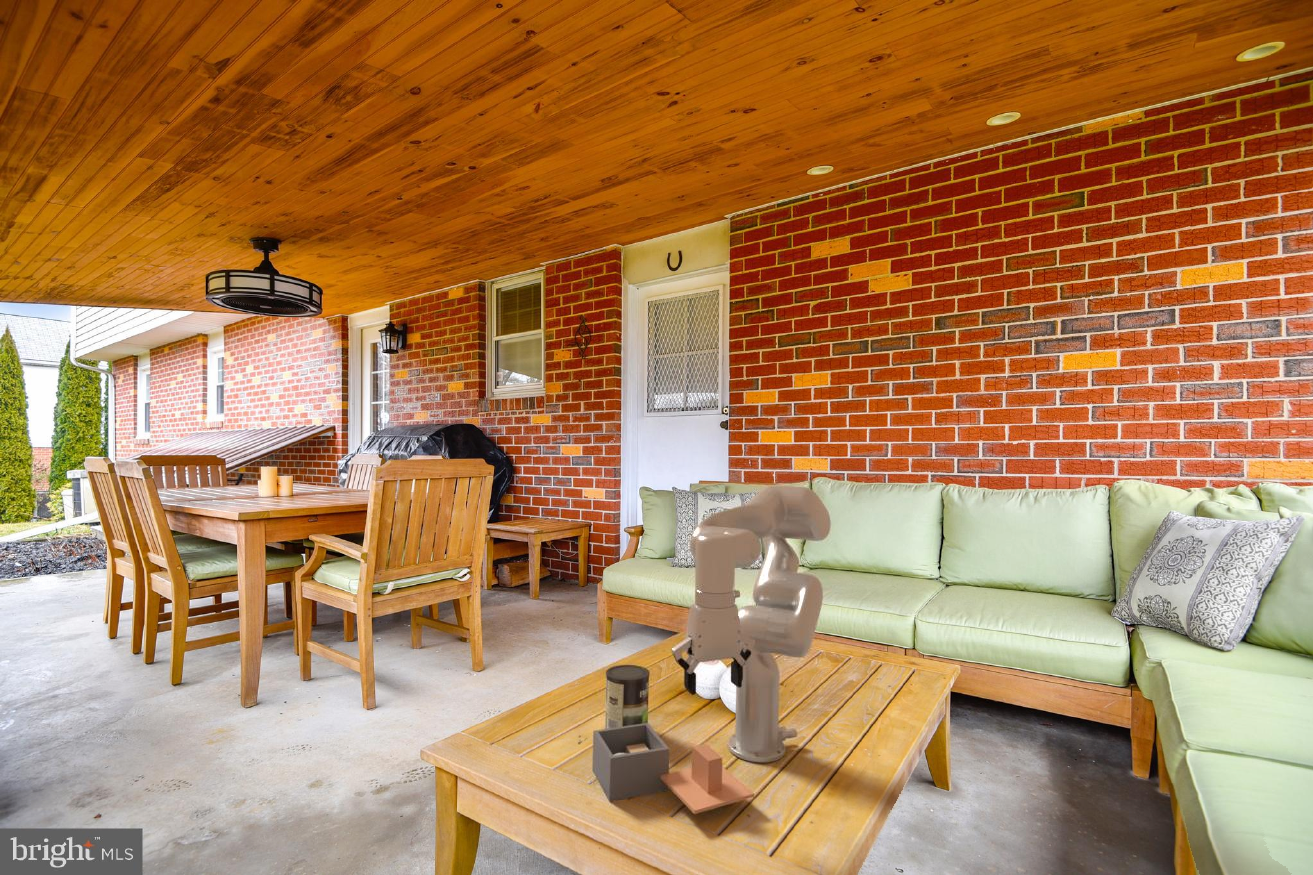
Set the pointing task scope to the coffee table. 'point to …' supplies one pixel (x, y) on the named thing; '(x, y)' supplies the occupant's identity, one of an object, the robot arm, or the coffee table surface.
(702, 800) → the lid
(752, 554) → the robot arm
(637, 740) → the storage box
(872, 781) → the coffee table surface
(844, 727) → the coffee table surface
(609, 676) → the coffee can
